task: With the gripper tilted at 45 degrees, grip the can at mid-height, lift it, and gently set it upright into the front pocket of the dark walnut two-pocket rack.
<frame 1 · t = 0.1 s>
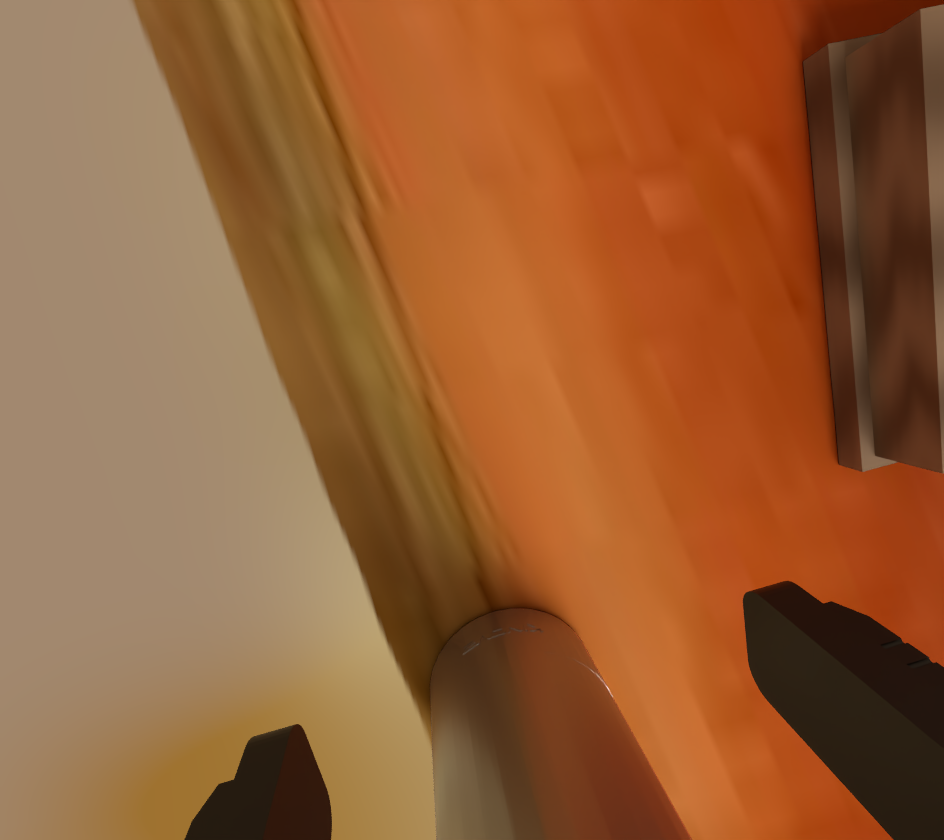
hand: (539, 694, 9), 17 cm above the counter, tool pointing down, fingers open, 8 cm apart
rack: (924, 253, 27), on the counter
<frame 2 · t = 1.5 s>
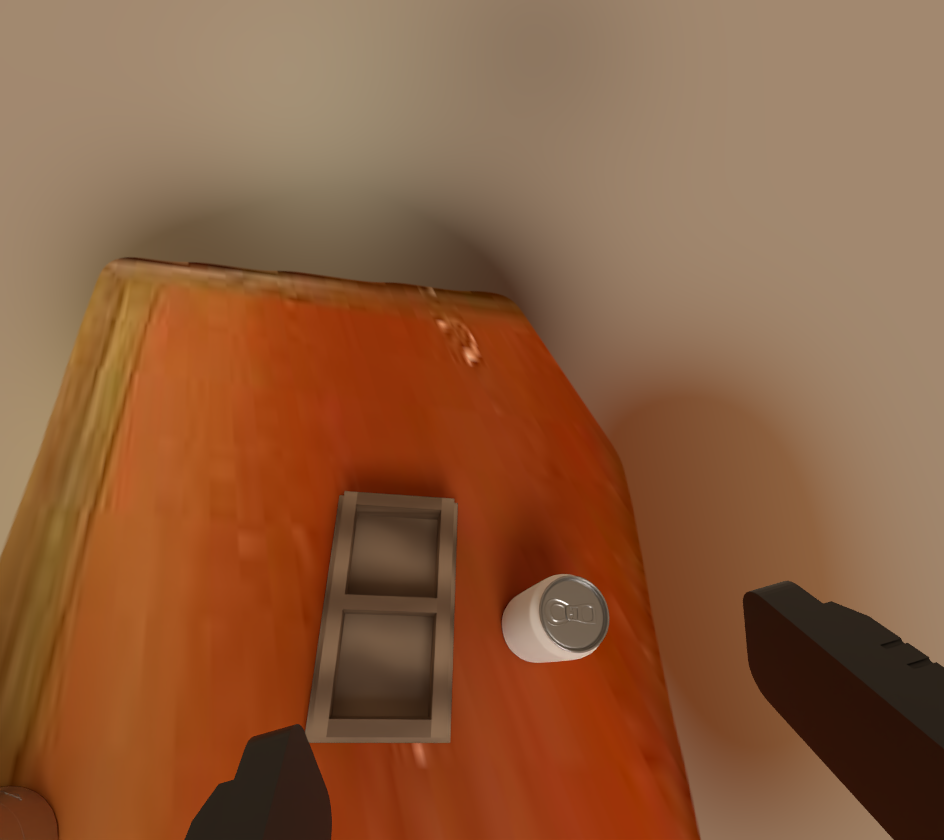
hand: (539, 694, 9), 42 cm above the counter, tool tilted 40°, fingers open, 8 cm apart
rack: (389, 610, 48), on the counter
can: (532, 626, 49), on the counter
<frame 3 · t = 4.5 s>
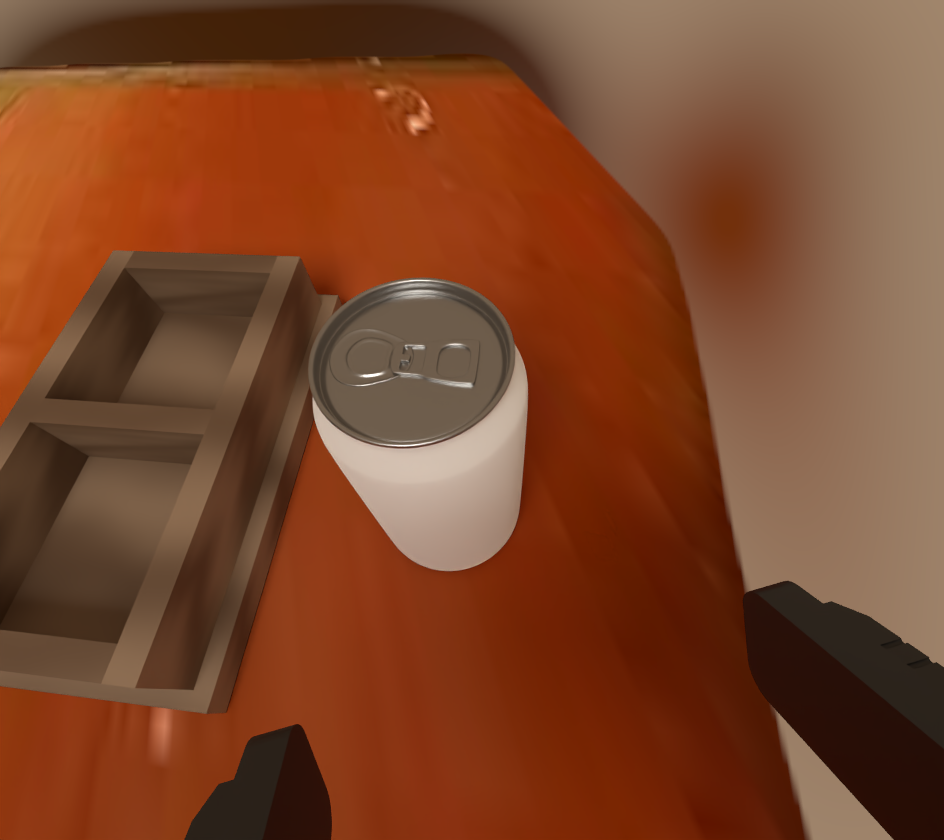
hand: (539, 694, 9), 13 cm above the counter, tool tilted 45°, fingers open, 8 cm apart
rack: (186, 463, 26), on the counter
can: (452, 506, 24), on the counter
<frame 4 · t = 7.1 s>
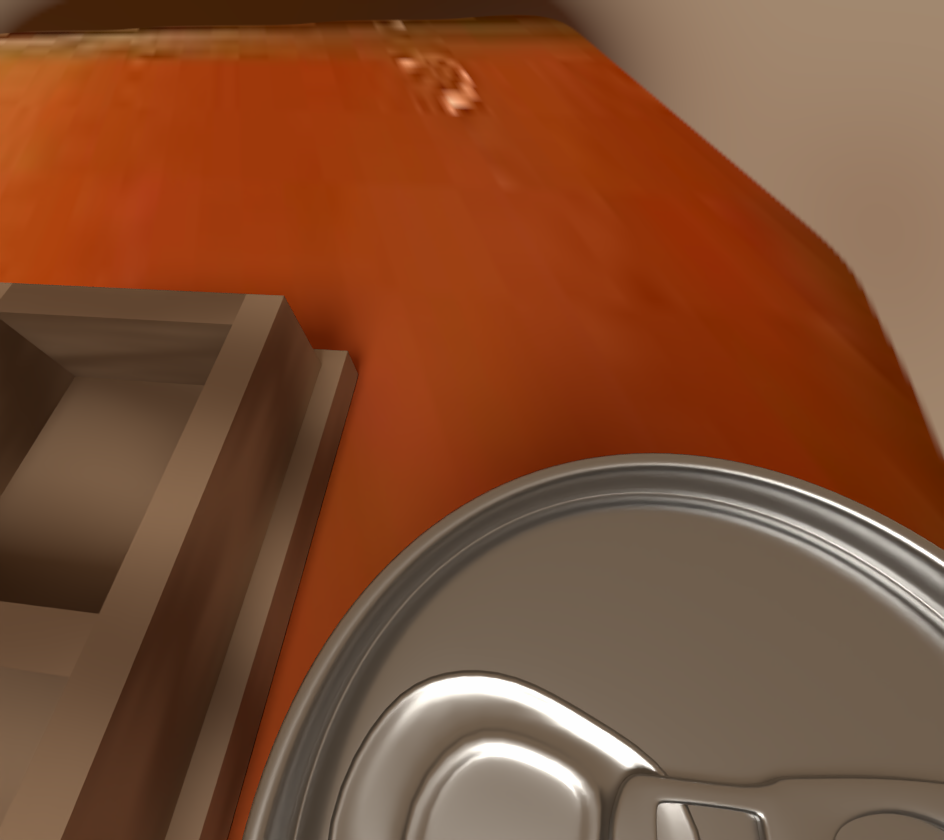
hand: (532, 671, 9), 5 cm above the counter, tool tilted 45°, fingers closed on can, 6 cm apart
rack: (86, 646, 15), on the counter
can: (552, 754, 13), on the counter, touching gripper
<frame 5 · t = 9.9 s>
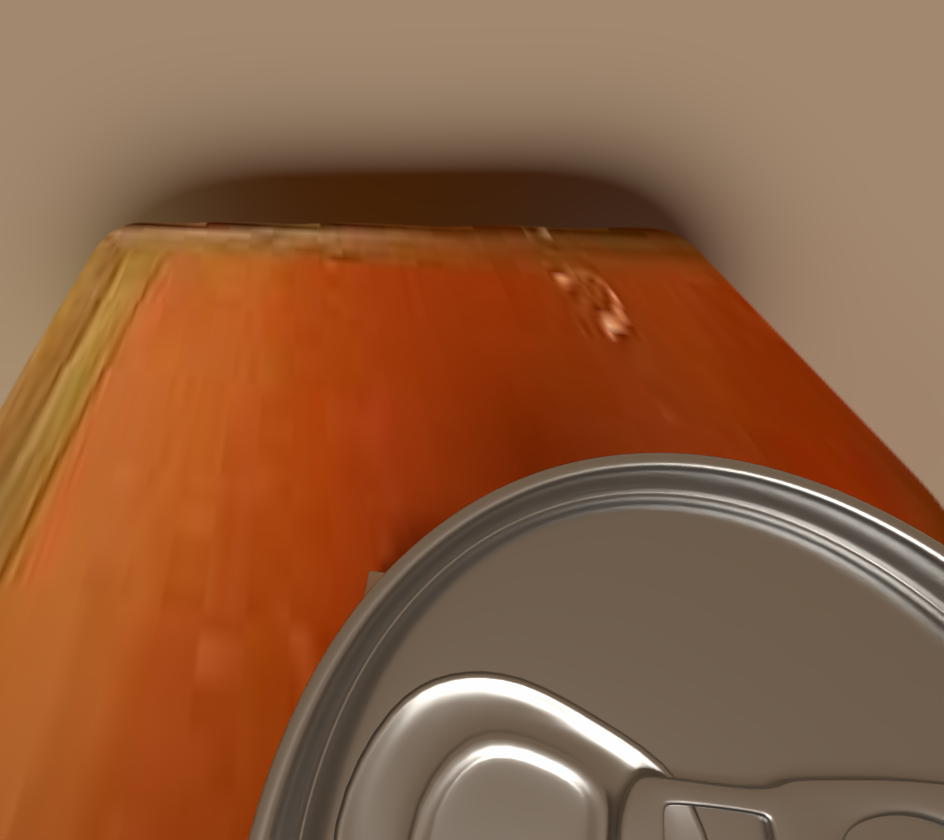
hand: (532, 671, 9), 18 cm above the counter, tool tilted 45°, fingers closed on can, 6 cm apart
can: (554, 754, 13), point 13 cm above the counter, touching gripper
when the fingers open (9 cm above the counter, at t = 12.5 s): can drops 2 cm, resting on rack.
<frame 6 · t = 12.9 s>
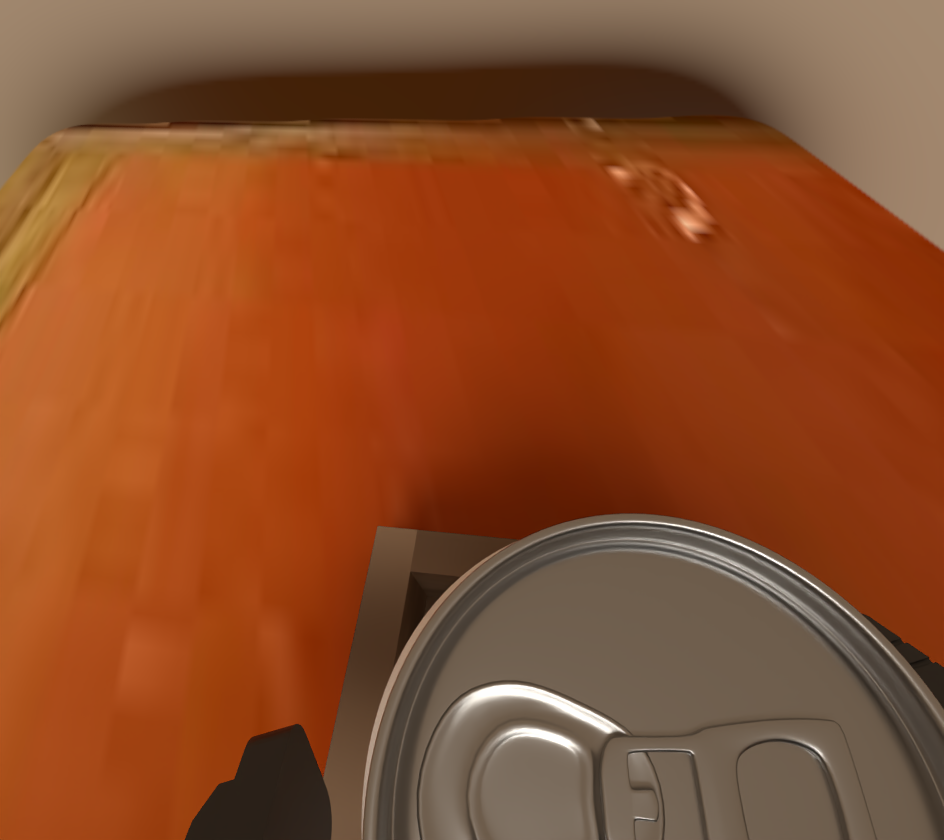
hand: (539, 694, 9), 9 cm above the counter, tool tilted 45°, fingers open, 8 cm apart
can: (554, 741, 15), point 1 cm above the counter, touching rack
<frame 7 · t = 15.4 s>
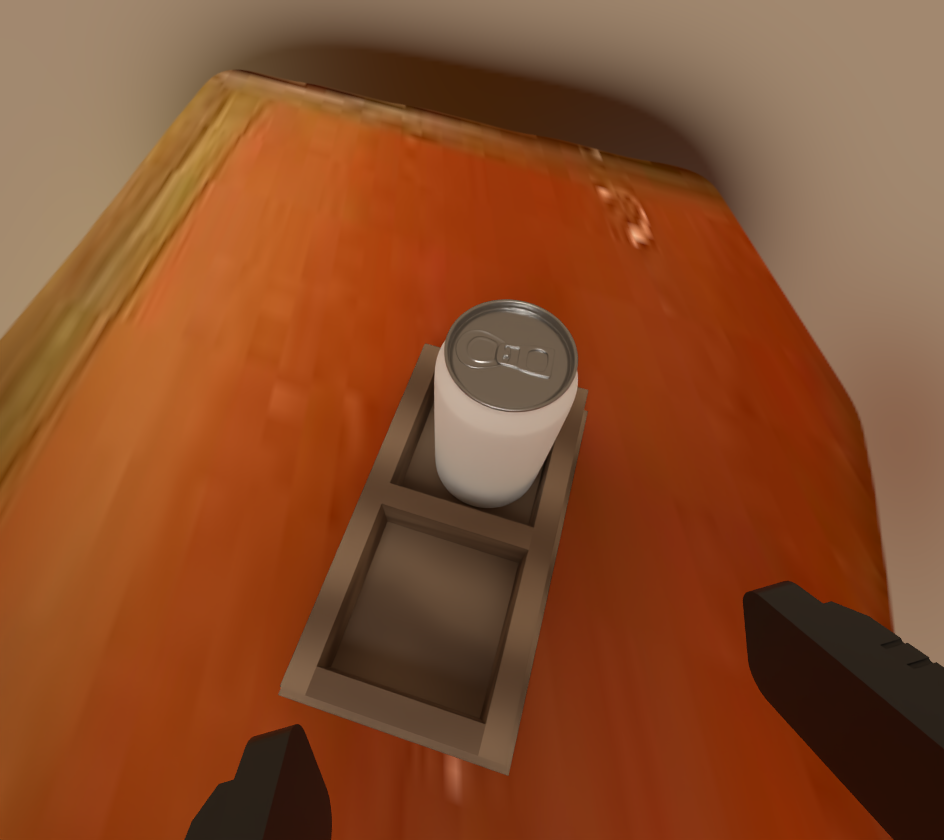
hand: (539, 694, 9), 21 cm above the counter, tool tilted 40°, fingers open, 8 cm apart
rack: (454, 538, 31), on the counter
can: (485, 462, 32), point 1 cm above the counter, touching rack
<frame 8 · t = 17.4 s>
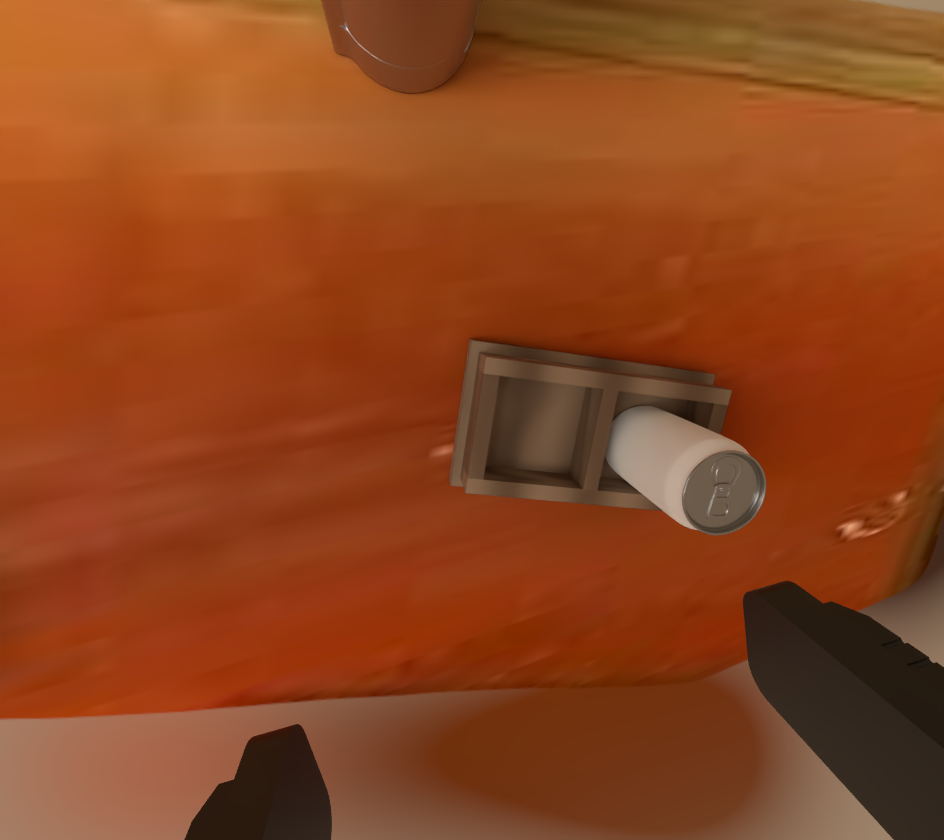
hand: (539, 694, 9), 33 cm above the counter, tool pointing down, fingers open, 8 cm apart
rack: (578, 425, 43), on the counter
can: (636, 440, 43), point 1 cm above the counter, touching rack
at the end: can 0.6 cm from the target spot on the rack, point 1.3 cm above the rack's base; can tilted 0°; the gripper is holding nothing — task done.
